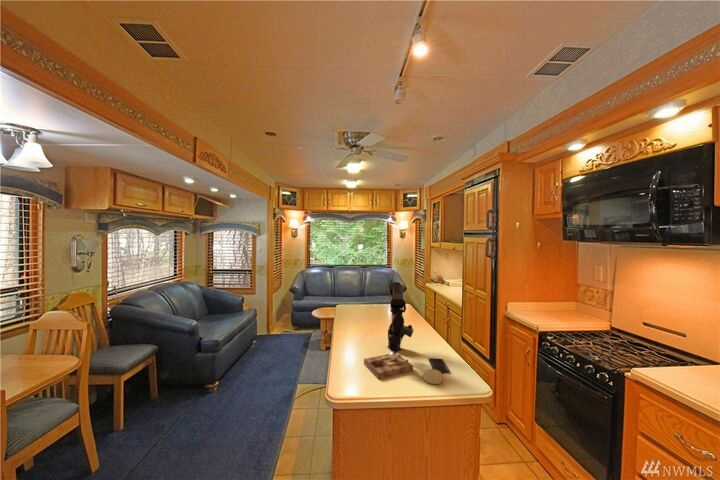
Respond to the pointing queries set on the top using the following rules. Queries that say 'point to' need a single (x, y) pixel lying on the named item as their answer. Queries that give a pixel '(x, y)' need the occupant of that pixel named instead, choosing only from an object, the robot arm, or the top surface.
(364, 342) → the top surface
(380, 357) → the hole deck
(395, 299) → the robot arm
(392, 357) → the steel ball
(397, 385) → the top surface
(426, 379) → the sea urchin shell
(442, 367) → the phone
